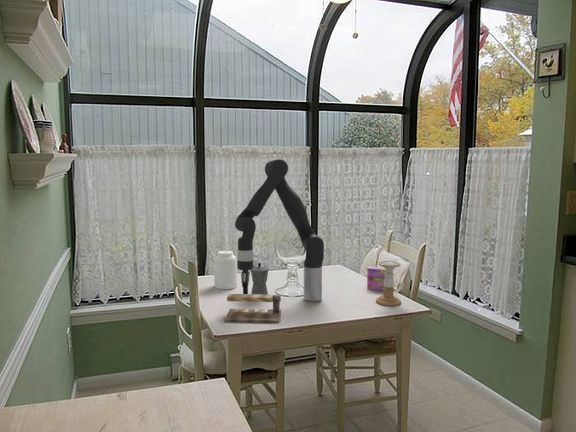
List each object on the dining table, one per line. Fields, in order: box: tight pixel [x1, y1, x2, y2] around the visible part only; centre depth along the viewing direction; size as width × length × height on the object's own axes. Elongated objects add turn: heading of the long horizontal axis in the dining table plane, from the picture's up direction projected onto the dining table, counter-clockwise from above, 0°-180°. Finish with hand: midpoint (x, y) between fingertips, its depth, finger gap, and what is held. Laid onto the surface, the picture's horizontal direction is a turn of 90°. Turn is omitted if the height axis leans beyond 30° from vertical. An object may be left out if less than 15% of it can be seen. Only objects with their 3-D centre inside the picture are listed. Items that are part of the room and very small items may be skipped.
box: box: [366, 265, 386, 291], centre depth 268 cm, size 10×6×12 cm, turn 68°
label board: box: [224, 301, 282, 324], centre depth 220 cm, size 24×15×6 cm, turn 88°
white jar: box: [213, 249, 238, 290], centre depth 268 cm, size 12×12×20 cm
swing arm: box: [226, 293, 282, 303], centre depth 224 cm, size 24×5×2 cm, turn 88°
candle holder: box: [375, 260, 402, 307], centre depth 242 cm, size 12×12×20 cm
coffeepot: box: [250, 262, 269, 295], centre depth 251 cm, size 15×9×18 cm, turn 33°
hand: (245, 294), depth 231 cm, fingers closed
